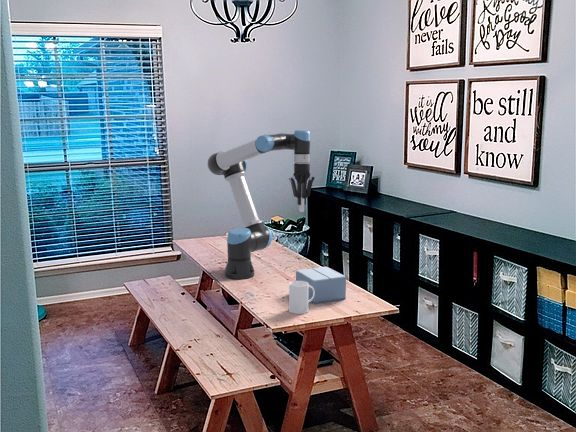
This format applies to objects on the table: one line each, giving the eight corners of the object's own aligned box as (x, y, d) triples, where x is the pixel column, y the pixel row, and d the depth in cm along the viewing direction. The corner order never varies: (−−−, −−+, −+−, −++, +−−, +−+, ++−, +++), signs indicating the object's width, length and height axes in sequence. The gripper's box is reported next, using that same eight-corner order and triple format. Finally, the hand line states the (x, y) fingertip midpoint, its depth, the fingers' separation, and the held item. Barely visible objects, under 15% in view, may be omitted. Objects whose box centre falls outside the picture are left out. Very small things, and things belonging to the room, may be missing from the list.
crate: (313, 304, 263) (313, 282, 262) (295, 292, 279) (296, 271, 278) (345, 299, 270) (346, 277, 268) (326, 288, 286) (326, 267, 284)
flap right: (330, 279, 265) (330, 278, 265) (312, 269, 281) (312, 268, 281) (345, 277, 268) (345, 276, 268) (326, 267, 284) (326, 266, 284)
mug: (311, 305, 262) (311, 278, 259) (319, 311, 254) (319, 284, 252) (285, 308, 257) (285, 281, 255) (293, 315, 250) (293, 287, 247)
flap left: (314, 281, 262) (314, 280, 262) (296, 271, 277) (296, 270, 277) (329, 279, 265) (329, 278, 265) (310, 269, 281) (310, 268, 280)
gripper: (293, 164, 282) (292, 213, 287) (317, 163, 288) (317, 211, 292) (286, 162, 289) (286, 211, 293) (310, 161, 294) (310, 209, 299)
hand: (301, 211), depth 293 cm, fingers closed
